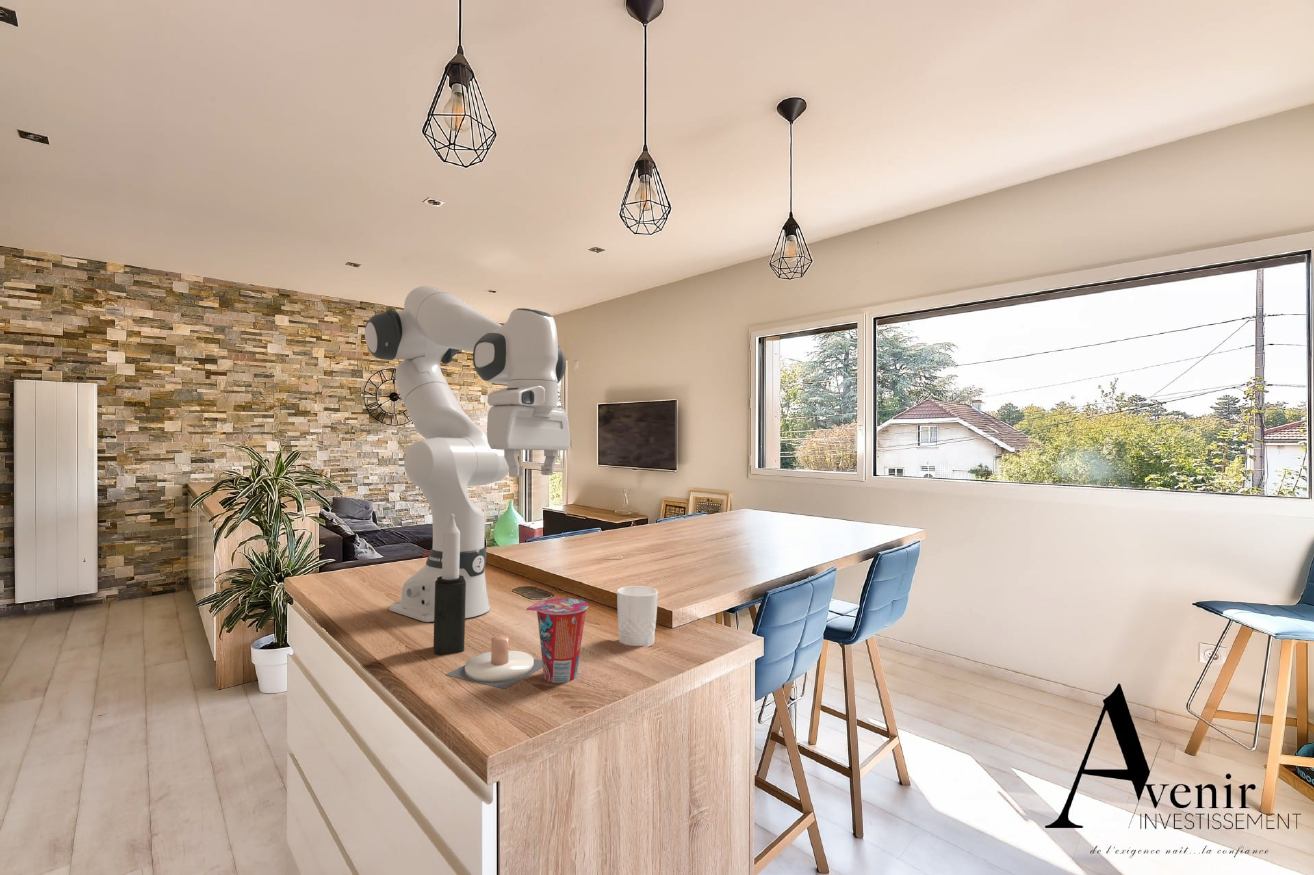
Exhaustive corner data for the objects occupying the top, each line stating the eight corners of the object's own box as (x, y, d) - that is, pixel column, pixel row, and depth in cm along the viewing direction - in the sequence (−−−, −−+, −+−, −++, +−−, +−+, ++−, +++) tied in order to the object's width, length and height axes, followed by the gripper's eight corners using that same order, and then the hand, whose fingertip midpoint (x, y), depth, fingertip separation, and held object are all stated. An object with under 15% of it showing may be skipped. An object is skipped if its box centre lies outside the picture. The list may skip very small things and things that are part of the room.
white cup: (652, 651, 105) (653, 597, 105) (611, 648, 106) (612, 594, 107) (660, 637, 112) (661, 587, 113) (622, 634, 114) (623, 584, 114)
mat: (445, 678, 91) (445, 674, 91) (495, 654, 102) (495, 650, 102) (505, 692, 86) (505, 688, 86) (550, 665, 97) (550, 662, 97)
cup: (562, 665, 97) (564, 595, 98) (597, 678, 92) (598, 604, 92) (517, 682, 90) (519, 606, 90) (552, 697, 85) (554, 616, 85)
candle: (433, 649, 104) (436, 512, 104) (462, 645, 106) (465, 511, 106) (434, 658, 99) (437, 515, 100) (464, 655, 101) (468, 514, 102)
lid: (449, 674, 91) (450, 642, 91) (495, 652, 101) (496, 623, 102) (504, 687, 87) (505, 654, 87) (546, 662, 97) (547, 633, 97)
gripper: (550, 404, 113) (550, 473, 112) (480, 393, 94) (479, 477, 93) (578, 402, 110) (577, 474, 110) (511, 392, 91) (511, 478, 91)
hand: (532, 475), depth 101 cm, fingers open, 8 cm apart
